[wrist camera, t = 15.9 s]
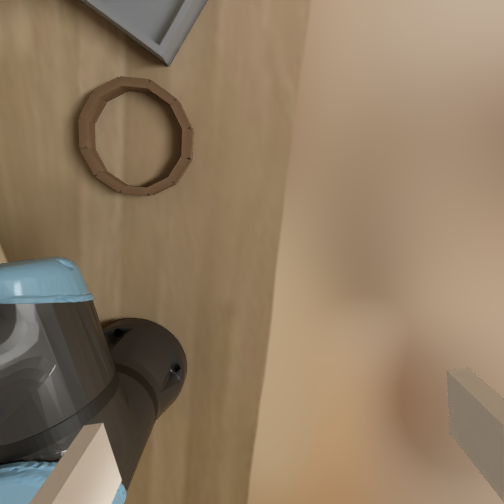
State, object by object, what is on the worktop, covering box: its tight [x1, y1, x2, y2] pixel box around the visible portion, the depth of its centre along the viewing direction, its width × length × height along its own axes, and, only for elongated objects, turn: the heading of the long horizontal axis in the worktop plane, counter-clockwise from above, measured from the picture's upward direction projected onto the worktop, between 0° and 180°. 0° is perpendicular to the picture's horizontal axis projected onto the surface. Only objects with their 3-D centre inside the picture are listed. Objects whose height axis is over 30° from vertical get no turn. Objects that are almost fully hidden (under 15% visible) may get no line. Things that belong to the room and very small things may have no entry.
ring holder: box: [78, 76, 194, 196], centre depth 39 cm, size 14×14×2 cm
